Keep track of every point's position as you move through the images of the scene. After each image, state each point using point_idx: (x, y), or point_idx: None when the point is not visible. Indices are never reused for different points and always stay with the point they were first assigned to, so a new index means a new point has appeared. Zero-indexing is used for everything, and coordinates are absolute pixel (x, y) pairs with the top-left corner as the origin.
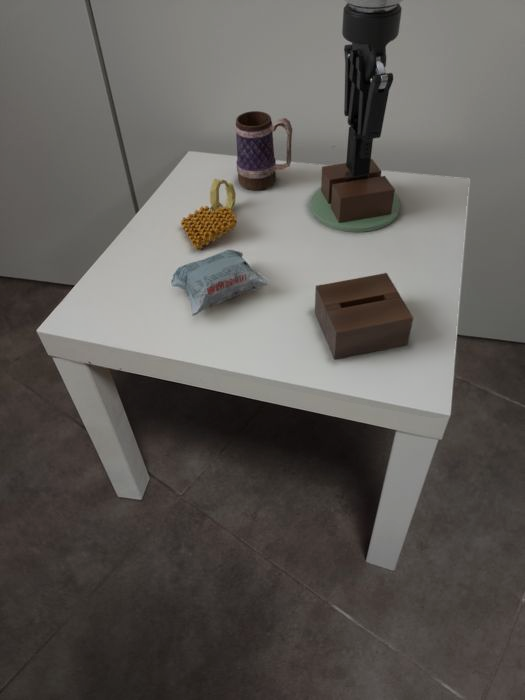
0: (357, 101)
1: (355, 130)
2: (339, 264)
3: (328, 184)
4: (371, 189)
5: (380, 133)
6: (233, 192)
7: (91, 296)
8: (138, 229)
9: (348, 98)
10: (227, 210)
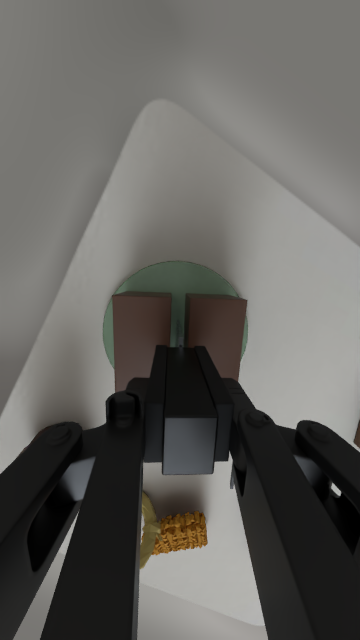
0: (136, 618)
1: (205, 471)
2: (292, 396)
3: None
4: (229, 343)
5: (344, 443)
6: None
7: (237, 605)
8: (142, 575)
9: (25, 604)
10: (170, 526)
